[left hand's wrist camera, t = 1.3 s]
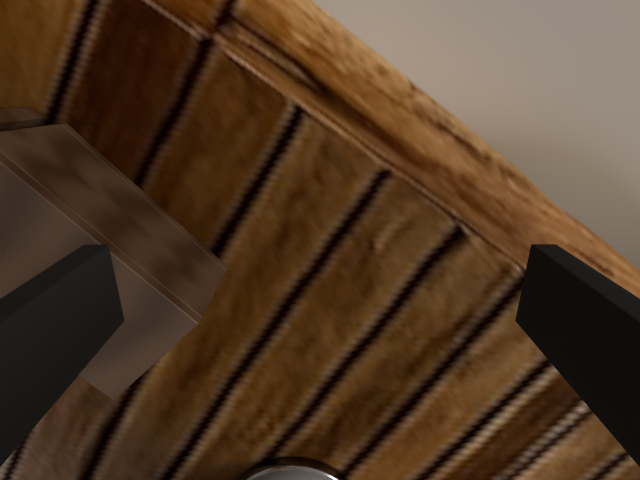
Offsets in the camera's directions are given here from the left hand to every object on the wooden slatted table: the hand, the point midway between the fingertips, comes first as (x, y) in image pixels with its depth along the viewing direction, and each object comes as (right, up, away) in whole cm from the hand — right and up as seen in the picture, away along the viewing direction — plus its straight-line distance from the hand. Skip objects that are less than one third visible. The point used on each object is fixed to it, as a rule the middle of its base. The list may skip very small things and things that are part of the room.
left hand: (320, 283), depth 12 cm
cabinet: (-18, +2, +23) cm, 29 cm away
